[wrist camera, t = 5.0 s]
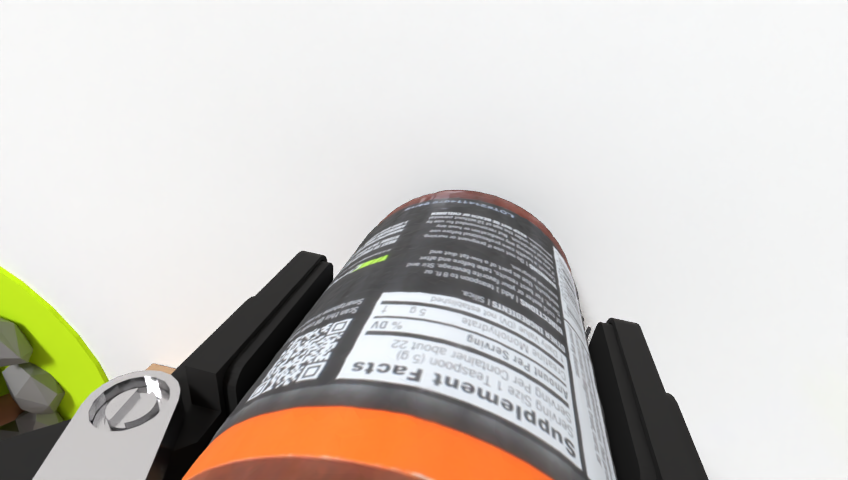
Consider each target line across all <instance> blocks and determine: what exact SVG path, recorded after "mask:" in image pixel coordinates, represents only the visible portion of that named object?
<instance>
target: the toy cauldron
mask: <svg viewBox="0 0 848 480" xmlns="http://www.w3.org/2000/svg"><path fill="white" fill-rule="evenodd" d="M107 382H109V380H108V378H107V376H106V375H105V373H104V371H103V369H102V367H101V365H100V363H99V362H98V360H97V359H96V358H95V356H94V355H93V354H92V352H91V351H90V349H89V348H88V347H87V345H86V344H85V343H84V341H83V340H82V338H81V337H80V336H79V335H78V333H77V332H76V331H75V330H74V329H73V328H72V327H71V326H70V325H69V324H68V323H67V322H66V321H65V320H64V319H63V318H62V316H61V315H60V314H59V313H58V312H57V311H56V310H55V309H54V308H53V307H52V306H51V305H50V304H48V303H47V302H46V301H45V300H44V299H43V298H41V297H40V296H39V295H38V294H37V293H35V292H34V291H33V290H32V289H31V288H30V287H28V286H27V285H26V284H25V283H24V282H23V281H21V280H20V279H18V278H17V277H15V276H14V275H12V274H11V273H9V272H8V271H6V270H5V269H3V268H2V267H0V440H4V439H7V438H10V437H14V436H17V435H20V434H24V433H27V432H30V431H33V430H37V429H40V428H43V427H47V426H50V425H53V424H56V423H60V422H63V421H66V420H70V419H72V418H73V416H74V415H75V413H76V412H77V410H78V409H79V407H80V406H81V404H82V403H83V402H84V401H85V400H86V398H87V397H88V396H89V395H90V394H91V393H92V392H93V391H95V390H96V389H97V388H99V387H100V386H102V385H103V384H105V383H107Z"/></svg>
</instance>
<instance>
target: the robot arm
mask: <svg viewBox="0 0 848 480" xmlns="http://www.w3.org/2000/svg"><path fill="white" fill-rule="evenodd" d="M332 281H333V265H332V263H328V262H327V259H326V257H325V256H324V255H320V254H315V253H311V252H306V251H301V252H299V253H298V254H297V255H296V256H295V257H294V258H293V259H292V260H291V261H290V262H289V263H288V264H287V265H286V266H285V267H284V268H283V269H282V270H281V271H280V272H279V273H278V274H277V275H276V276H275V277H274V278H273V279H272V280H271V281H270V282H269V283H268V284H267V285H266V286H265V287H264V288H263V289H262V290H261V291H260V292H259V293H258V294H257V295H256V296H254V297H251V298H249V299H248V300H247V301H246V302H244V303H243V304H242V305H241V306H240V307H239V308H238V309H237V310H236V311H235V312H234V313H233V314H232V315H231V316H230V317H229V318H228V319H227V320H226V321H225V322H224V323H223V324H222V325H221V326H220V327H219V328H218V329H217V330H216V331H215V332H214V333H213V334H212V335H211V336H210V337H209V338H208V339H207V340H206V341H204V342H203V343H202V344H201V345H200V346H199V347H198V348H197V349H196V350H195V351H194V352H193V353H192V354H191V355H190V356H189V357H188V358H187V359H186V360H185V361H184V362H183V363H182V364H181V365H180V366H179V367H178V368H177V369H176V370H175V371H174V372H173V373H172V374H171V375H170V374H167V373H165V372H162V371H154V370H145V371H137V372H132V373H128V374H125V375H122V376H119V377H117V378H115V379H113V380H111V381H109V382H107V383H105V384H103V385H102V386H100V387H99V388H97V389H96V390H95V391H93V392H92V393H91V394H90V395H89V396H88V397H87V398H86V400H85V401H84V402H83V403H82V404H81V406H80V407H79V409H78V410H77V412H76V413H75V415H74V416H73V418H72V419H70V420H66V421H63V422H60V423H56V424H53V425H50V426H47V427H43V428H40V429H37V430H33V431H30V432H27V433H24V434H20V435H17V436H14V437H10V438H7V439H4V440H0V480H182V478H183V477H184V476H185V474H186V473H187V472H188V470H189V469H190V468H191V466H192V465H193V463H194V462H195V461H196V460H197V459H198V457H199V456H200V455H201V454H202V453H203V451H204V450H205V449H206V448H207V446H208V445H209V443H210V442H211V440H212V439H213V437H214V435H215V434H216V432H217V431H218V430H219V428H220V427H221V426H222V424H223V423H224V422H225V421H226V419H227V418H228V417H229V415H230V414H231V413H232V412H233V411H234V409H235V408H236V407H237V405H238V404H239V402H240V401H241V400H242V398H243V397H244V396H245V394H246V393H247V392H248V391H249V389H250V388H251V387H252V386H253V384H254V383H255V382H256V381H257V379H258V378H259V377H260V375H261V374H262V373H263V372H264V370H265V369H266V368H267V367H268V365H269V364H270V362H271V361H272V360H273V358H274V357H275V355H276V354H277V353H278V352H279V350H280V349H281V348H282V347H283V345H284V344H285V343H286V341H287V340H288V339H289V338H290V336H291V335H292V333H293V332H294V330H295V329H296V328H297V327H298V325H299V324H300V323H301V321H302V320H303V319H304V317H305V316H306V315H307V313H308V312H309V311H310V310H311V309H312V307H313V306H314V304H315V303H316V302H317V301H318V299H319V298H320V297H321V296H322V294H323V293H324V292H325V290H326V289H327V288H328V286H329V285H330V284H331V282H332ZM589 353H590V357H591V361H592V364H593V368H594V373H595V377H596V384H597V390H598V394H599V398H600V401H601V404H602V407H603V410H604V414H605V425H606V429H607V432H608V436H609V439H610V450H611V454H612V459H613V463H614V466H615V470H616V476H617V480H708V477H707V475H706V472H705V470H704V467H703V465H702V463H701V460H700V458H699V455H698V453H697V450H696V448H695V445H694V443H693V440H692V438H691V435H690V433H689V431H688V428H687V426H686V423H685V421H684V418H683V416H682V413H681V411H680V408H679V406H678V403H677V402H676V400H675V398H674V397H673V396H672V395H671V394H669V393H666V392H665V390H664V387H663V384H662V382H661V379H660V377H659V374H658V371H657V369H656V366H655V364H654V361H653V359H652V356H651V353H650V351H649V348H648V346H647V343H646V340H645V338H644V335H643V333H642V330H641V327H640V326H639V324H637V323H633V322H628V321H624V320H619V319H614V318H610V319H608V321H607V322H606V323H602V322H599V323H598V324H597V326H596V328H595V331H594V334H593V336H592V339H591V341H590V344H589Z"/></svg>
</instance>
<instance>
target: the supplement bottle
mask: <svg viewBox="0 0 848 480" xmlns="http://www.w3.org/2000/svg"><path fill="white" fill-rule="evenodd" d="M578 300H579V297H578V292H577V289H576V286H575V283H574V280H573V277H572V274H571V269H570V267H569V264H568V262H567V259H566V256H565V254H564V252H563V250H562V249H561V247H560V245H559V243H558V242H557V241H556V239H555V238H554V237H553V235H552V234H551V232H550V231H549V230H548V229H547V228H546V227H545V225H544V224H543V223H541V222H540V221H539V220H538V219H537V218H535V217H534V216H533V215H532V214H530V213H529V212H527V211H526V210H524V209H523V208H521V207H519V206H517V205H515V204H513V203H512V202H509V201H507V200H504V199H502V198H499V197H497V196H494V195H490V194H485V193H481V192H476V191H466V190H445V191H440V192H437V193H434V194H428V195H424V196H422V197H419V198H415V199H413V200H411V201H409V202H407V203H405V204H403V205H401V206H400V207H398V208H396V209H395V210H394V211H392V212H391V213H390V214H389V215H388V216H387V217H386V218H385V219H383V220H382V221H381V222H380V223H379V224H378V226H376V227H375V228H374V229H373V230H372V231H371V232H370V233H369V234H368V235H367V237H366V238H365V239H364V241H363V242H362V243H361V244H360V246H359V247H358V249H357V250H356V252H355V253H354V254H353V255H352V257H351V258H350V259H349V261H348V262H347V263H346V264H345V266H344V267H343V268H342V270H341V271H340V272H339V274H338V275H337V276H336V277H335V279H334V280H333V281H332V282H331V284H330V285H329V286H328V288H327V289H326V290H325V292H324V293H323V294H322V296H321V297H320V298H319V299H318V301H317V302H316V303H315V304H314V306H313V307H312V309H311V310H310V311H309V312H308V313H307V315H306V316H305V317H304V319H303V320H302V321H301V323H300V324H299V325H298V327H297V328H296V329H295V330H294V332H293V333H292V335H291V336H290V338H289V339H288V340H287V341H286V343H285V344H284V345H283V347H282V348H281V349H280V350H279V352H278V353H277V354H276V355H275V357H274V358H273V360H272V361H271V362H270V364H269V365H268V367H267V368H266V369H265V370H264V372H263V373H262V374H261V375H260V377H259V378H258V379H257V381H256V382H255V383H254V384H253V386H252V387H251V388H250V389H249V391H248V392H247V393H246V394H245V396H244V397H243V398H242V400H241V401H240V402H239V404H238V405H237V407H236V408H235V409H234V411H233V412H232V413H231V414H230V415H229V417H228V418H227V419H226V421H225V422H224V423H223V424H222V426H221V427H220V428H219V430H218V431H217V432H216V434H215V435H214V437H213V439H212V440H211V442H210V443H209V445H208V446H207V448H206V449H205V450H204V451H203V453H202V454H201V455H200V456H199V457H198V459H197V460H196V461H195V462H194V463H193V465H192V466H191V468H190V469H189V470H188V472H187V473H186V474H185V476H184V477H183V478H182V480H617V476H616V470H615V466H614V463H613V459H612V454H611V450H610V439H609V436H608V432H607V429H606V425H605V414H604V410H603V407H602V404H601V401H600V398H599V394H598V390H597V384H596V377H595V373H594V368H593V364H592V361H591V357H590V353H589V347H588V341H587V338H588V335H589V333H590V330H591V328H590V327H589V326H588V328H587V330H586V333H585V328H584V324H583V322H584V318H583V317H582V315H581V310H580V305H579V301H578Z"/></svg>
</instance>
